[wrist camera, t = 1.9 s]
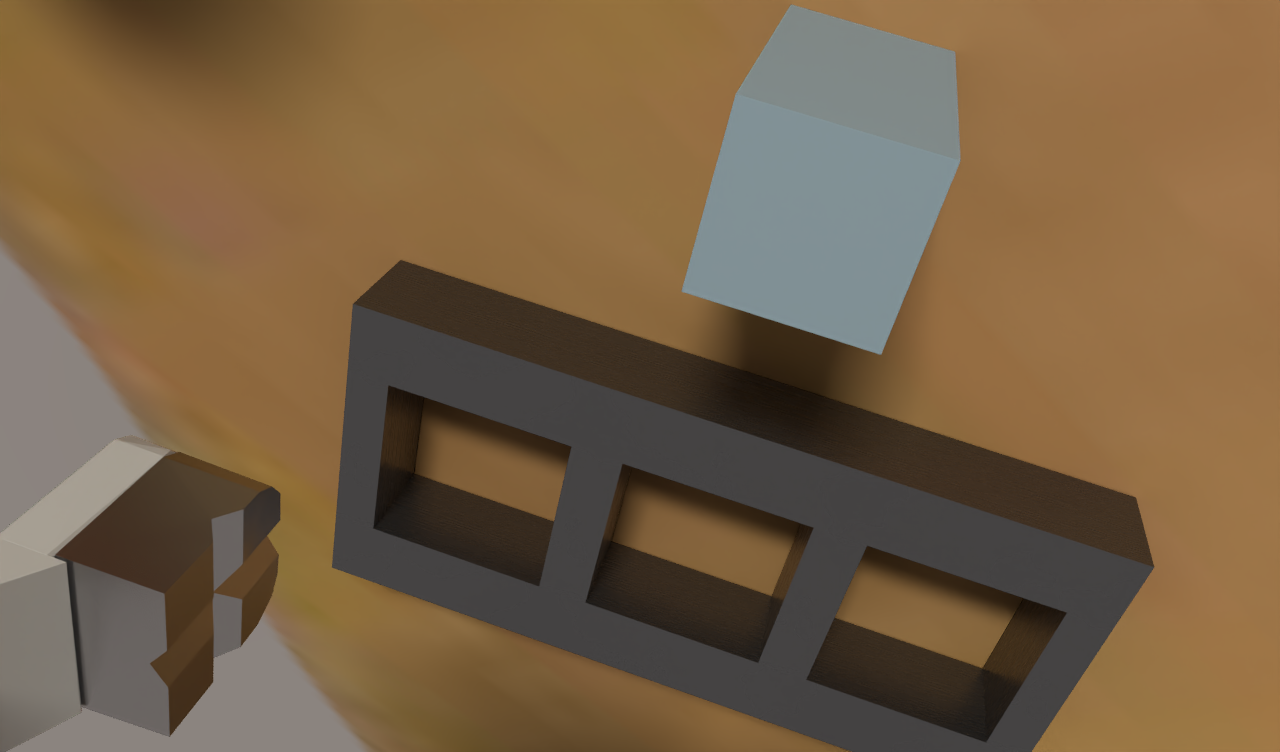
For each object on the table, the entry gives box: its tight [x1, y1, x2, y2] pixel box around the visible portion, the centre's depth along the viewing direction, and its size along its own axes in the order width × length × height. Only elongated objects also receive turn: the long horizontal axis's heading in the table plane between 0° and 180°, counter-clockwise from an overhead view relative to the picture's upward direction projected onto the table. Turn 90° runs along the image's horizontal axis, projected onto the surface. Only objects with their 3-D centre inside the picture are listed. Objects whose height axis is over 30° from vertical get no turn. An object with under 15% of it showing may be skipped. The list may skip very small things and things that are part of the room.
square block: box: [682, 5, 960, 355], centre depth 23 cm, size 4×4×8 cm
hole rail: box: [332, 260, 1154, 752], centre depth 32 cm, size 22×10×3 cm, turn 77°
